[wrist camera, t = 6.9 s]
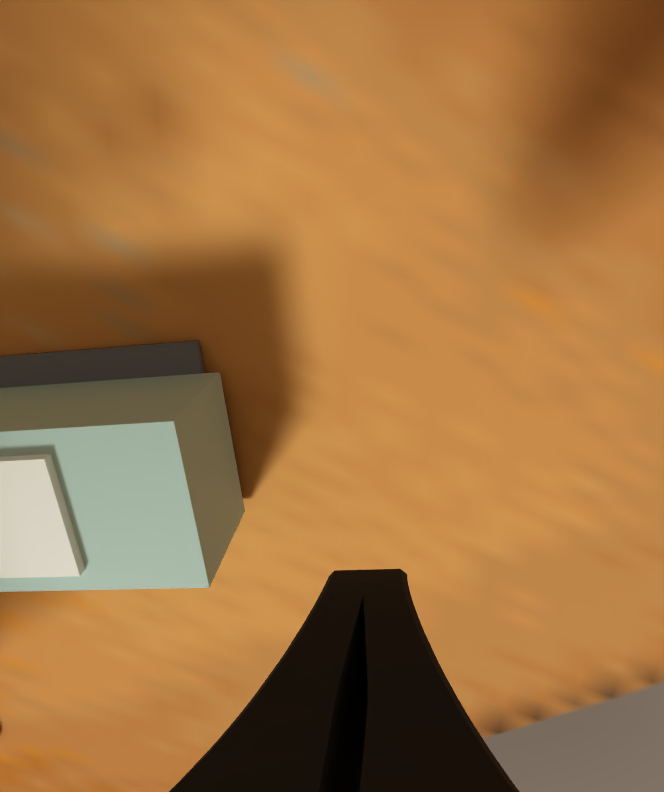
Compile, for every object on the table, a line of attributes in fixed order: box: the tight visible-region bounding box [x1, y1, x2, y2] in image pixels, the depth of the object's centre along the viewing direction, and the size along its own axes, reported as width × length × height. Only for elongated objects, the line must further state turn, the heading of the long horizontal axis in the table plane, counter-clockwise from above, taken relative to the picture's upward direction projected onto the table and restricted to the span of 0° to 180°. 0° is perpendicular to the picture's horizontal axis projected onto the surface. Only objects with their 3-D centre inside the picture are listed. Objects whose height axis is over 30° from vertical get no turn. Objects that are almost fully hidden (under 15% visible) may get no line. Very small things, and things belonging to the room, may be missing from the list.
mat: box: [0, 340, 205, 388], centre depth 20 cm, size 10×7×1 cm
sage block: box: [0, 372, 245, 592], centre depth 17 cm, size 4×5×10 cm
